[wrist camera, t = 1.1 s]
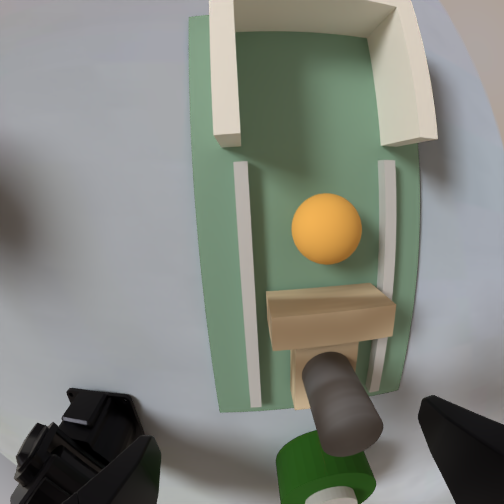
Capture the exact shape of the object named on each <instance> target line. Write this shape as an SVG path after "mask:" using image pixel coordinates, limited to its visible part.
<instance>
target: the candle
mask: <svg viewBox="0 0 504 504" xmlns="http://www.w3.org/2000/svg"><path fill="white" fill-rule="evenodd" d="M276 467H277V476H278V484H279V493H280V501H281V504H361V503H362V502H364V501H365V500H366V499H367V498H368V497H369V496H370V495H371V494H372V493H373V491H374V490H375V487H376V480H375V478H374V476H373V473H372V471H371V468H370V466H369V463H368V461H367V459H366V456H365V454H364V451H362V452H359V453H357V454H354V455H351V456H345V457H335V456H331V455H328V454H327V453H325V452H324V451H323V449H322V447H321V443H320V440H319V436H318V432H317V430H315V431H312V432H309V433H306V434H303V435H301V436H298V437H297V438H295V439H293V440H291V441H290V442H288V443H287V444H286V445H285V446H284V447H283V448H282V449H281V450H280V451H279V453H278V454H277V457H276Z"/></svg>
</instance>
